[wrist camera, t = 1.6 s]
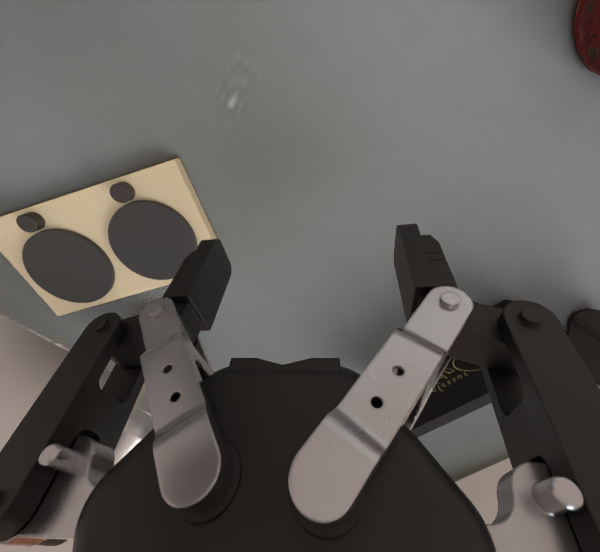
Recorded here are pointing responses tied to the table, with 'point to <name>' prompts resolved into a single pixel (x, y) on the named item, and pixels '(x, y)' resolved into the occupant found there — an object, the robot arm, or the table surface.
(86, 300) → the hob
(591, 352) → the dark grey upright block
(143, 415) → the silver bottle
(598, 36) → the animal head mug
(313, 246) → the table surface
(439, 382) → the nameplate
